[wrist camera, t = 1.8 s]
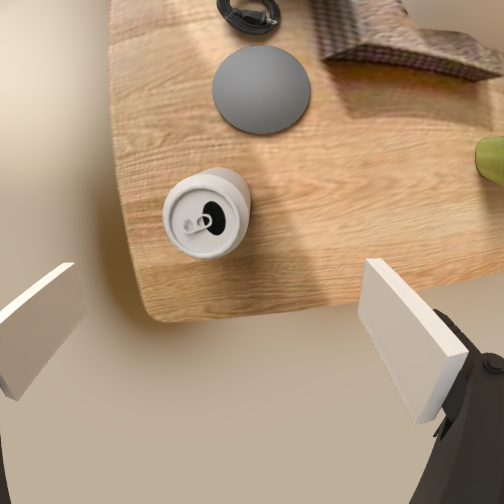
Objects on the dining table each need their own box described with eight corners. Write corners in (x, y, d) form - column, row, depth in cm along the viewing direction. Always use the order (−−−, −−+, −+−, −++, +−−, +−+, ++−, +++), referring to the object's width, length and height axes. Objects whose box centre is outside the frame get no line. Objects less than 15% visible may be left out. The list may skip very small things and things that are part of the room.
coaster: (213, 49, 28) (212, 47, 27) (307, 49, 28) (308, 47, 27) (213, 135, 32) (212, 134, 31) (309, 135, 31) (310, 134, 31)
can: (257, 221, 35) (257, 257, 24) (197, 234, 36) (171, 274, 24) (243, 160, 33) (236, 166, 21) (181, 175, 33) (145, 189, 22)
